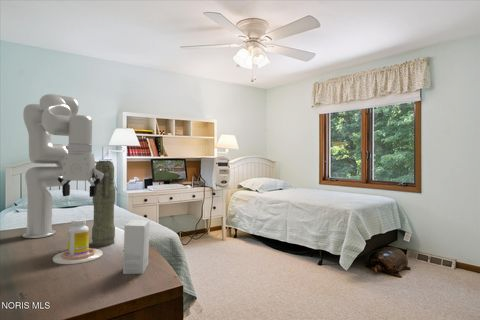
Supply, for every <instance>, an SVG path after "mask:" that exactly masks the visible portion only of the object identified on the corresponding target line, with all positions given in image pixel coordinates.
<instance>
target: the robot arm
mask: <svg viewBox="0 0 480 320" xmlns="http://www.w3.org/2000/svg"><path fill="white" fill-rule="evenodd" d="M78 112H79V103H78V100H76V98H74V97H72V96H67V95H60V94H54V93H48V94H44V95H42V96H41V98H40V99H39V103H29V104H27V105H25V107H23V112H22V113H23V116H22V117H23V122H24V125H25V128H26V129H27V133H28V134H27V135H28V158H29V160H30V162H31V163H32V164H39V165H40V164H42V165H43V164H44V165H47V164H48V165H49V164H50V165H56V166H33V167H30V168H28V169H27V170H26V171H25V176H24V177H25V183H26V191H27V193H26V194H27V195H26V196H27V200H26V202H27V204H26V205H27V206H26V207H27V208H26V210H27V211H26V213H27V214H26V215H27V216H26V217H27V218H26V231H25V232H24V233H22V238H25V239H42V238H46V237H51V236H53V235H56V230H55V229H53V228H52V227H53V196H52V194H51V192H50V191H49V190H48V189H47V188H52V187H53V188H54V187H61V188H62V191H61V192H62V197H69V196H70V195H71V185H70V182H71V181H76V182H77V181H78V182H79V181H80V182H81V181H82V182H83V181H84V182H85V181H88V183H89V184H90V186H89V193H88V194H89V197H90V198H93V197H94V196H96V191H97V185H98V183H100V182H101V180H102V178H103V176H104V174H103V173H101V172H100V171H98V170H96V169H95V166H96V161H95V156H94V153H92V152H93V151H92V150H93V149H92V148H93V147H92V145H93V119H92V117H91V116H88V115H83V114H78ZM51 135H52V136H63V137H68V145H65V144H59V143H52V142H51ZM95 175H98V178H97V179H96V180H95Z"/></svg>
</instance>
